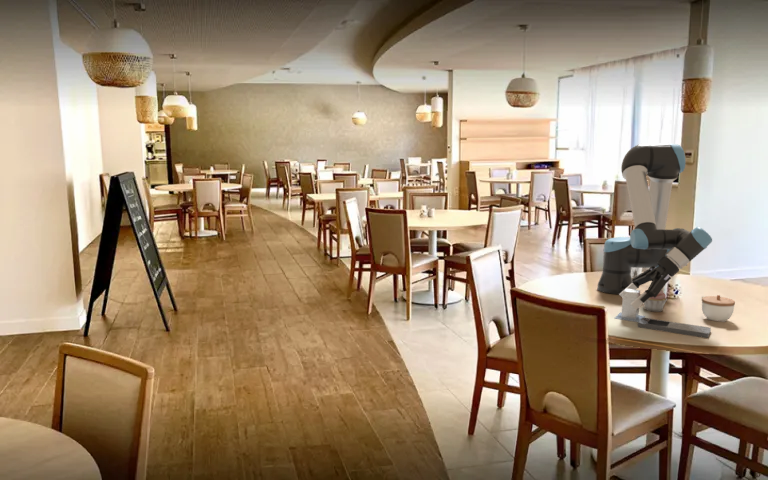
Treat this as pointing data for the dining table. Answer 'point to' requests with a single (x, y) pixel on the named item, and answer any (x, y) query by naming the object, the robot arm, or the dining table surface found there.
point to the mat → (629, 319)
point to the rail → (674, 327)
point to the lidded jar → (717, 308)
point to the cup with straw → (635, 272)
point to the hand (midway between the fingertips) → (627, 301)
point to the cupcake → (656, 302)
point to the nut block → (627, 308)
